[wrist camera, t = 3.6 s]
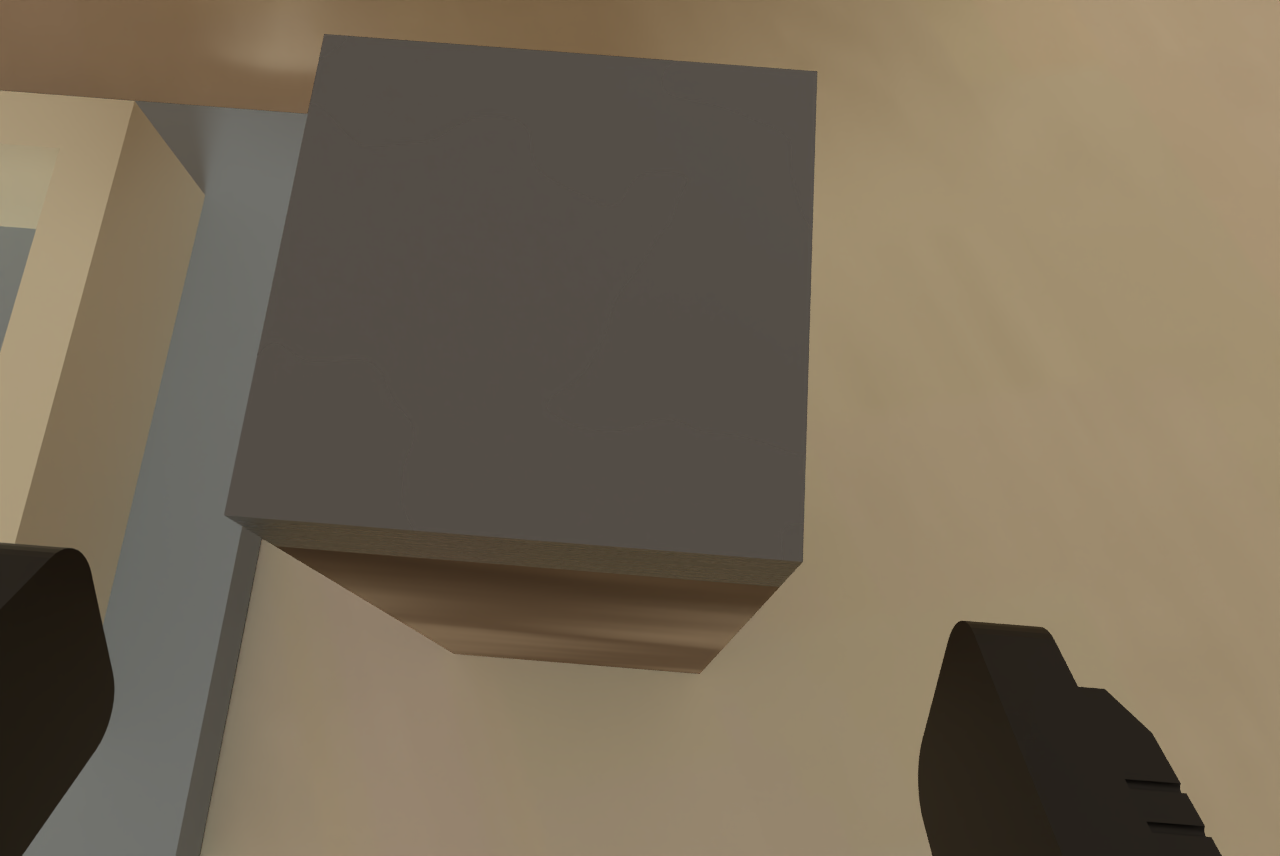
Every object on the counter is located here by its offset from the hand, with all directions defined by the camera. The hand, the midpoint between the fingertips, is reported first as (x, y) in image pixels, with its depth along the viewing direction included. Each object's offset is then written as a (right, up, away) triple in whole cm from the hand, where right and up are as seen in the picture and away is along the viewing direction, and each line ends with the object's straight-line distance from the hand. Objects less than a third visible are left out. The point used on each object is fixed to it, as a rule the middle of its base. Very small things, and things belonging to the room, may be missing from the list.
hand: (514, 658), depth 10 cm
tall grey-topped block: (0, 0, +9) cm, 9 cm away
